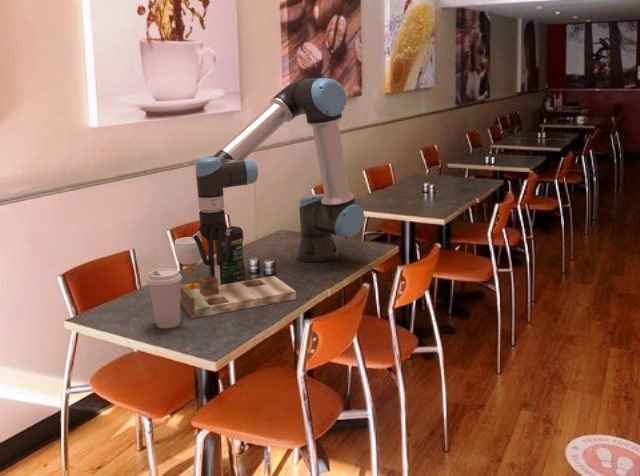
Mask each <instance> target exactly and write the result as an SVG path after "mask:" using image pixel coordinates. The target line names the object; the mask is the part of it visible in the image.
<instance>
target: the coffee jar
mask: <svg viewBox="0 0 640 476" xmlns="http://www.w3.org/2000/svg"><path fill="white" fill-rule="evenodd" d="M227 228H228V229H232V230H233V231H234V232H235V234H234V236H233V237H232V241H231V247H230V253H229V259H228V262H225V263H224V264H223V274H222V275H220V281H221V285H223V284H229V283H235V282H241V281H247V275H246V268H245V260H244V249H243V244H244V238H245V237H244V232H243V231H244V230H243V228H241V227H240V226H235V225H234V226H232V225H231V226H227ZM225 238H226V232H225V233H224V235H223V237H222V238H221V239H222V243H221V245H222V256H223V250H224V244H225ZM213 244H215V240H214V241H213ZM215 259H216V258H215ZM215 263H217V259H216V262H215Z"/></svg>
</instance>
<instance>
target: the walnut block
mask: <svg viewBox="0 0 640 476" xmlns="http://www.w3.org/2000/svg"><path fill="white" fill-rule="evenodd" d="M198 283H199V285H200V292H201V294H202V295H203V296H209V295H214V294H219V292H218V279H216V278H215V277H214V276H211V275H210V276H209V275H208V276H203V277H198Z"/></svg>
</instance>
